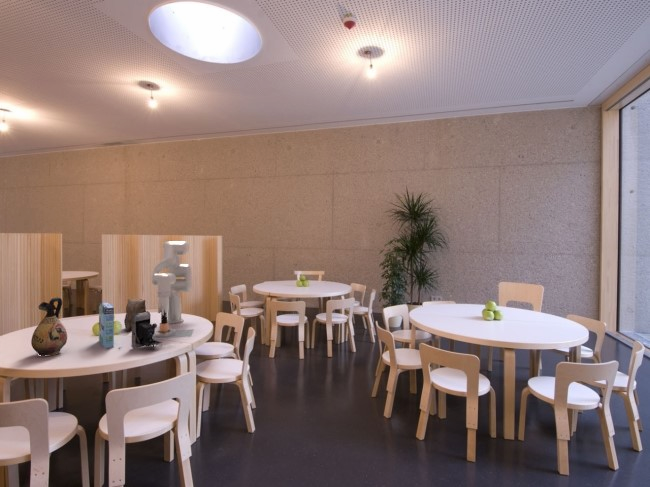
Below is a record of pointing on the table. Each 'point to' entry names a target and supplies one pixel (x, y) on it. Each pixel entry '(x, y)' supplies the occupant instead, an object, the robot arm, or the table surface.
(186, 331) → the board
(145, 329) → the vintage camera
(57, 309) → the ceramic jug
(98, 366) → the table surface
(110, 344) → the gum box
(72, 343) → the table surface
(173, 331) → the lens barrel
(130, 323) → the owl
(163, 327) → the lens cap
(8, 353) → the table surface
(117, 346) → the table surface
